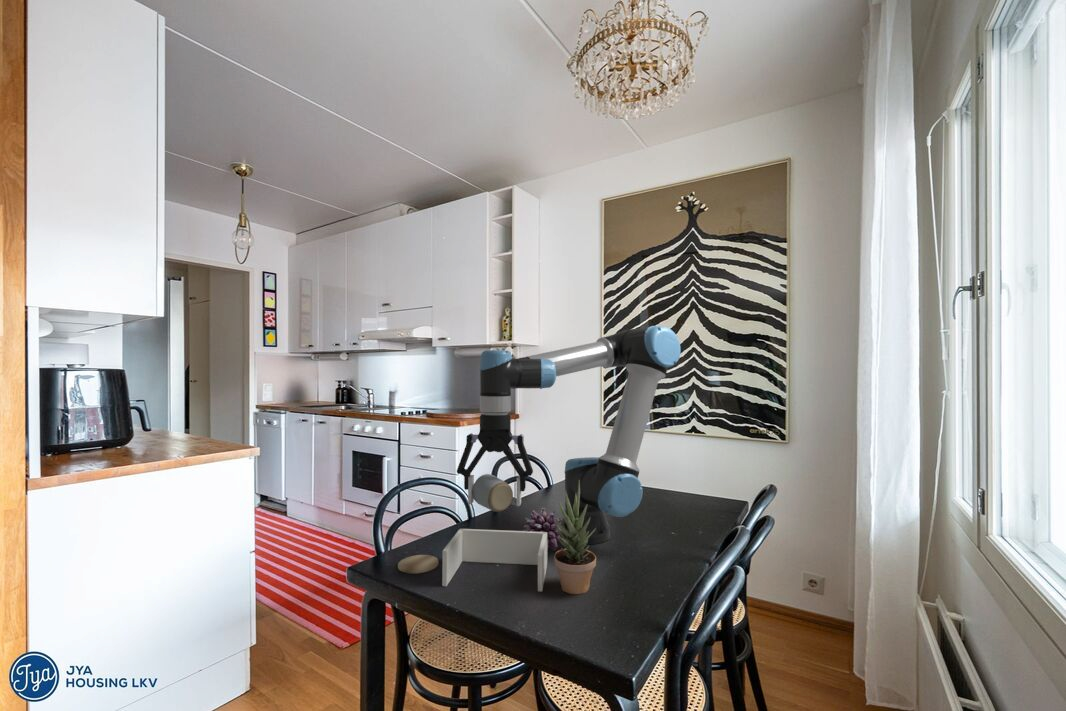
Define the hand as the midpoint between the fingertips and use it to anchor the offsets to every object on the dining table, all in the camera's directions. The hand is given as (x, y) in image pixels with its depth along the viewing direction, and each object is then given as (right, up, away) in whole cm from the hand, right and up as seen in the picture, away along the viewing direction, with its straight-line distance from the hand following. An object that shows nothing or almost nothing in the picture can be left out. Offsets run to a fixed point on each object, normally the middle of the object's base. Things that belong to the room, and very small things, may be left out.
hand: (494, 503), depth 113 cm
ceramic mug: (+1, -1, +1) cm, 2 cm away
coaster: (-20, -17, +5) cm, 27 cm away
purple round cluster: (+12, -18, +14) cm, 26 cm away
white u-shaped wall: (+1, -17, 0) cm, 17 cm away
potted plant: (+19, -17, -7) cm, 27 cm away
